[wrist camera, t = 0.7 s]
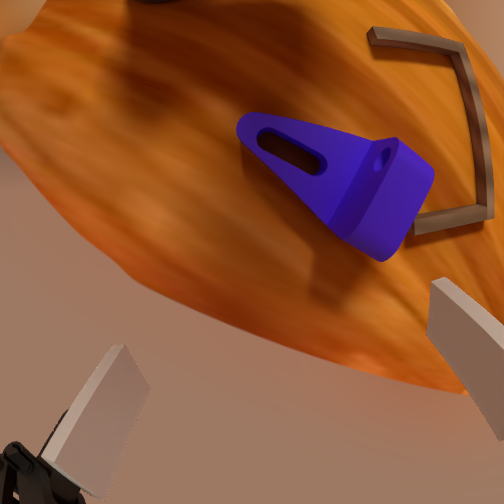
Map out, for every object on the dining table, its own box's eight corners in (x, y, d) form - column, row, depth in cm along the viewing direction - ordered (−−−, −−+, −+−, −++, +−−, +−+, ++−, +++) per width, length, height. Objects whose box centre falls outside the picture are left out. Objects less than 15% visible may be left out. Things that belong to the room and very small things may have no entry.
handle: (366, 33, 25) (372, 26, 22) (454, 47, 23) (463, 43, 21) (406, 230, 33) (414, 235, 30) (484, 214, 31) (494, 218, 29)
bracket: (387, 163, 30) (440, 165, 19) (348, 235, 33) (385, 268, 22) (262, 89, 28) (263, 52, 17) (220, 166, 31) (198, 167, 20)
